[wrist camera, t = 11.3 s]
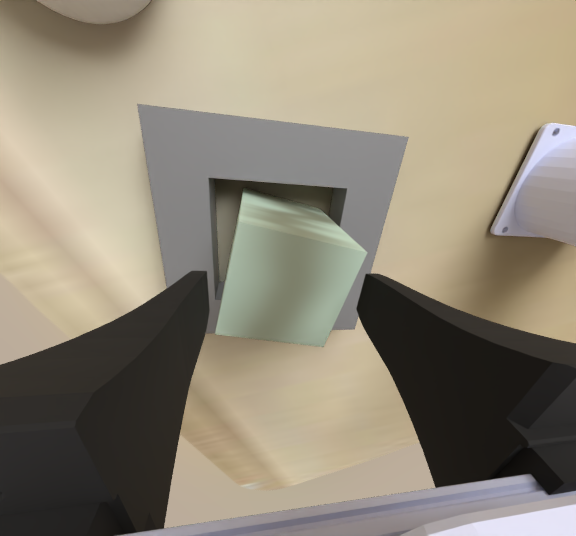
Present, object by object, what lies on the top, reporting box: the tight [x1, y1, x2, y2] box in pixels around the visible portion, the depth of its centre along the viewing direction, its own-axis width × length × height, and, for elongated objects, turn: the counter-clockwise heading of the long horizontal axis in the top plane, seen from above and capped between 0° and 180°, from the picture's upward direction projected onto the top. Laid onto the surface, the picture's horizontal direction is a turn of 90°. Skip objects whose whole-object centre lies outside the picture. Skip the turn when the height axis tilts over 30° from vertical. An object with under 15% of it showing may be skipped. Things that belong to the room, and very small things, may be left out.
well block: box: [137, 104, 408, 333], centre depth 16 cm, size 14×14×2 cm
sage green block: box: [215, 188, 368, 347], centre depth 14 cm, size 6×6×8 cm
